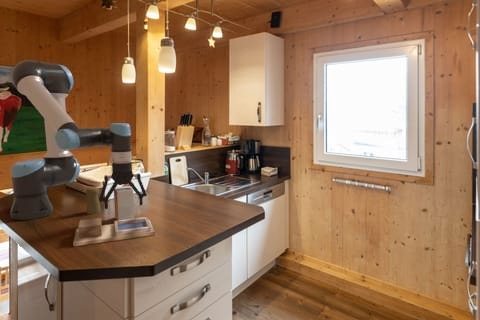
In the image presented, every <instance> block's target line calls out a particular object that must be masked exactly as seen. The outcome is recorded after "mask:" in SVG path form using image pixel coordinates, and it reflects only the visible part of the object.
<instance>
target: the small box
mask: <svg viewBox="0 0 480 320" xmlns="http://www.w3.org/2000/svg"><path fill="white" fill-rule="evenodd" d="M113 202H114V203H113V204H114V218H115V219H116V221H119V220H127V219H135V201H134V190H133V189H132V187H131V186H130V185H127V186H126V185H124V186H116V188H115V189H114V191H113Z"/></svg>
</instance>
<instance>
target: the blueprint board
mask: <svg viewBox="0 0 480 320" xmlns="http://www.w3.org/2000/svg"><path fill="white" fill-rule="evenodd" d="M102 222H103V221H102V217H96V218H87V219H80V220H79V224H78V228H76V229H75V234H74V238H73V243H72V244H73V247H79V246H86V245H94V244H99V243H100V244H101V243H107V242H114V241H115V242H116V241H121V240H127V239H128V240H129V239H136V238H143V237H150V236H155V234H156V231H155V228H154V227H153V224H152V223H151V219H149V218H148V216H146V217H136V218H134V219H127V220H119V221H117V220H114V223H112V224H104V225H102Z"/></svg>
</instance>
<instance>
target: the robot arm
mask: <svg viewBox="0 0 480 320" xmlns="http://www.w3.org/2000/svg"><path fill="white" fill-rule="evenodd" d="M11 81H12V84H13V86H14V87H15V89H16V90H17V92H19V93H20V94H21V95H24V96H26V98H27V99H28V100H29V101H30V103H31V104H32V105H33V106H34V108H35V109H36V110H37V111H38V113H40V115H41V116H42V117H43V118H44V129H45V142H46V153H45V154H44V155H43V158H37V157H36V158H28V159H23V160H19V161H17V162H14V163H13V164H12V165H11V168H10V169H11V170H10V171H11V172H10V173H11V174H10V176H11V182H12V190H13V191H12V192H13V202H12V204H11V205H12V206H11V209H10V211H9V212H10V213H9V214H10V215H9V216H10V219H11V220H16V221H27V220H36V219H39V218H44V217H46V216H49V215H51V214H52V213H54V207H53V205H52V203H51V201H50V199H49V196H48V193H47V188H50V187H53V186H54V187H55V186H59V185H67V184H69V183H73V182H75V181H76V180H77V178H78V177H79V175H80V172H81V166H80V162H79V161H78V159H77V158H75V157H74V154H73V153H72V152H71V151H70V150H73V151H74V150H76V149H77V150H79V149H85V148H86V149H87V148H97V147H110V152H111V162H112V163H111V168H112V169H111V171H112V174H111V175H107V174H106V175H104V176H103V177H104V182H103V185H102V187H101V192H100V194H99V196H98V198H99V201H103V203H104V209H105V210H107V217H108V218H111V205H110V204H111V203H110V197H111V196H112V194H113V193H114V189H115V188H116V187H118V185H119V186H122V185H124V186H126V185H127V186H129V187H130V188H132V190H133V192H135V194H136V195H137V196H136V203H137V205H136V206H137V207H136V208H137V214H138V215H140V214H141V206H143V198H144V197H147V195H148V194H147V191H146V190H145V187H144V184H143V182H142V180H141V177H142V176H141V174H140V172H139V173H133V162H131V161H132V158H133V157H132V133H131V126H130V124H129V123H126V122H124V123H122V122H121V123H120V122H119V123H118V122H115V123H110V124H109V127H101V126H97V127H88V128H87V127H86V128H84V127H83V128H80V127H79V126H78V124H77V123H76V122H75V121H74V120H73V118H72V117H71V116H70V115H69V114H68V113H67V110H66V109H67V108H66V98H67V97H68V96H69V92H70V91H71V90H72V89H73V86H74V77H73V75H72V72H71V71H70V69H69V68H68V67H66V65H65V66H64V65H62V64H58V63H52V62H45V61H40V60H39V61H38V60H33V59H26V60H22V61H20V62H18V63H17V64H16V65H15V66H14V67H13V68H12V71H11ZM133 178H135V180H137V183H138V185H139V187H140V190H141V192H142V193H141V192H140V190H139V189H138V188H137V187H136V186H135V184H134V183H133V182H132V179H133ZM111 179H112V180H113V183H112V185H111V187H110V189H108V192H107V193H106V190H107V186H108V183H109V182H110V181H111ZM105 193H106V195H105ZM104 195H105V196H104Z"/></svg>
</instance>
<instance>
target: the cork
mask: <svg viewBox="0 0 480 320" xmlns="http://www.w3.org/2000/svg"><path fill="white" fill-rule="evenodd" d="M99 193H100V190H99V188H98V187H92V186H91V187H88V188H86V190H85V194H86V196H87V199H86V210H85V211H86V212H85V213H86V214H87V215H96V214H100V213H101V212H102V208H101V204H100V200H99V195H100V194H99Z"/></svg>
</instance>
